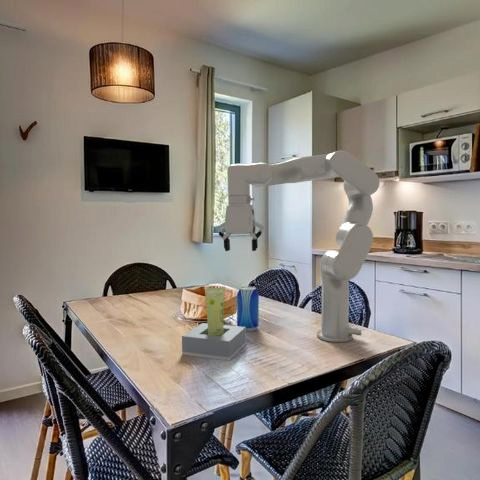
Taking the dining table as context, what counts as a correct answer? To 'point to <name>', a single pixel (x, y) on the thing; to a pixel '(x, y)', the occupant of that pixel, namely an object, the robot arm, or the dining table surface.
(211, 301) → the tube
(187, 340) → the well
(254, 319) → the beer can
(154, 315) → the dining table surface
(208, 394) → the dining table surface
